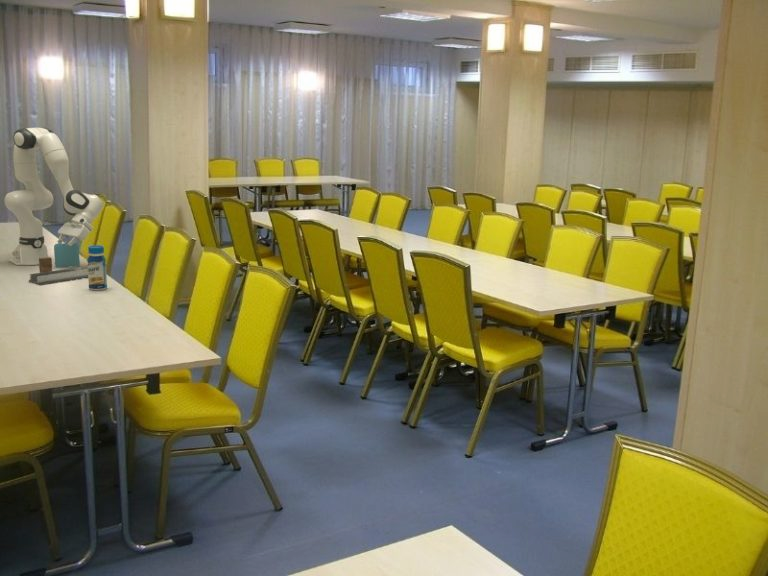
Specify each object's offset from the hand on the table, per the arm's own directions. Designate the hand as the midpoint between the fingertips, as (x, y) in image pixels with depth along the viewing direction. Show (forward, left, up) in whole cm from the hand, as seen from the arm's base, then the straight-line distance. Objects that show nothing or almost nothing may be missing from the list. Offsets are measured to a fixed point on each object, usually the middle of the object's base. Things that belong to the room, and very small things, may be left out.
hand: (63, 244), depth 416 cm
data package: (-15, +10, -15) cm, 23 cm away
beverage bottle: (+43, -8, -15) cm, 46 cm away
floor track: (+13, -10, -15) cm, 22 cm away
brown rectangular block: (0, -10, -15) cm, 18 cm away
